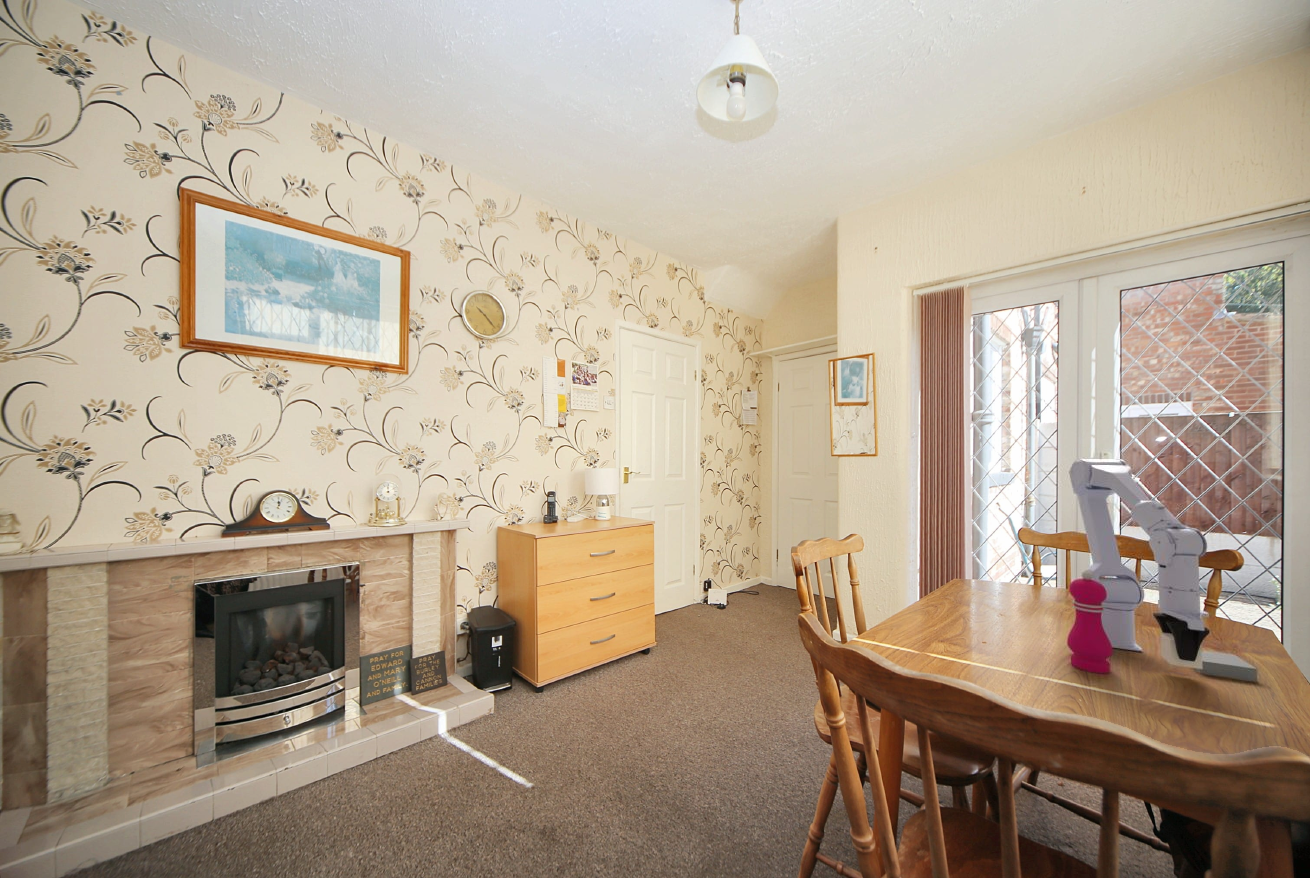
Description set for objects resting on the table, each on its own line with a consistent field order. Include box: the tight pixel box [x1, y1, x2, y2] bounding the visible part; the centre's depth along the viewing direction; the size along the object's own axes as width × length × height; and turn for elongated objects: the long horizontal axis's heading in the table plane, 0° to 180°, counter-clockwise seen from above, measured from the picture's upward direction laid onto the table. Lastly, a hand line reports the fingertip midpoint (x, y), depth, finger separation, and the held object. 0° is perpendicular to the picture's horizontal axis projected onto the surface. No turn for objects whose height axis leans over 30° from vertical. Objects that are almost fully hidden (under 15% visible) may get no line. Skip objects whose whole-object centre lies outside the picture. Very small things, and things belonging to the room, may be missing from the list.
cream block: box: [1160, 631, 1203, 669], centre depth 100 cm, size 4×4×5 cm
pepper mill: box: [1066, 571, 1114, 674], centre depth 104 cm, size 7×7×20 cm
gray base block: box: [1193, 650, 1258, 683], centre depth 103 cm, size 8×8×3 cm
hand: (1181, 655), depth 100 cm, fingers closed on cream block, 4 cm apart
